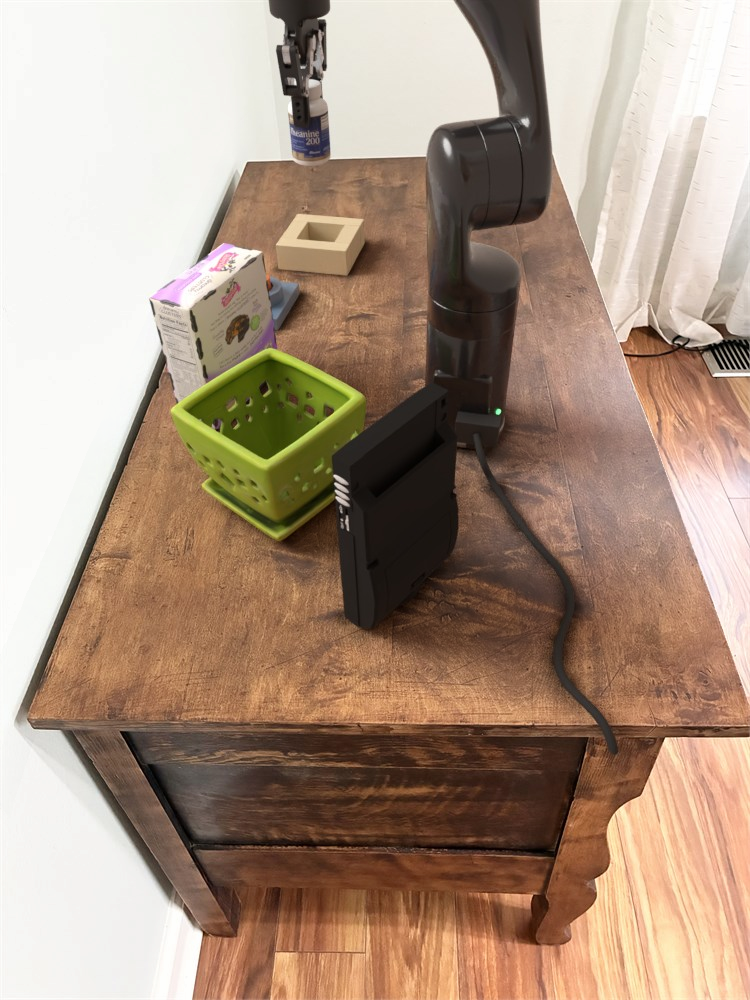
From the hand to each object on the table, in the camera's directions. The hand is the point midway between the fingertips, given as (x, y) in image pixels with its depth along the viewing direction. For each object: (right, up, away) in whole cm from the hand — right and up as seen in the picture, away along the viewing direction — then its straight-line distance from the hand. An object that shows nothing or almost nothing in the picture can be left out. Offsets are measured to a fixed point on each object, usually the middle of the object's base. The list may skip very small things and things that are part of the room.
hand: (308, 118), depth 102 cm
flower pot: (-1, -52, -21) cm, 56 cm away
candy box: (-9, -39, -8) cm, 41 cm away
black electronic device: (+11, -61, -31) cm, 69 cm away
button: (-7, -22, +4) cm, 24 cm away
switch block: (-7, -24, +6) cm, 26 cm away
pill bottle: (0, -4, +4) cm, 6 cm away
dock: (+1, -13, +17) cm, 21 cm away
